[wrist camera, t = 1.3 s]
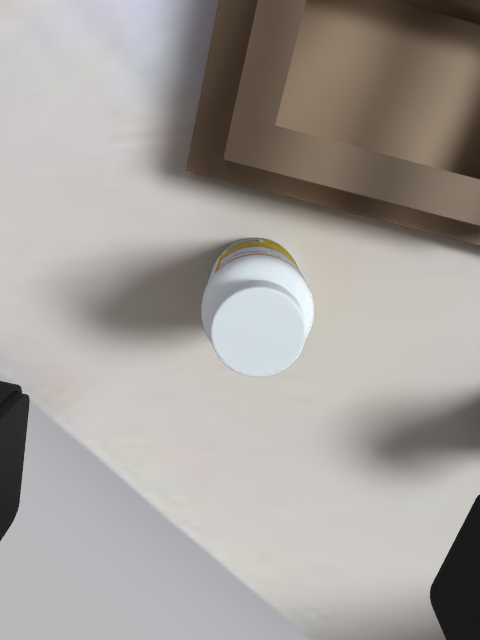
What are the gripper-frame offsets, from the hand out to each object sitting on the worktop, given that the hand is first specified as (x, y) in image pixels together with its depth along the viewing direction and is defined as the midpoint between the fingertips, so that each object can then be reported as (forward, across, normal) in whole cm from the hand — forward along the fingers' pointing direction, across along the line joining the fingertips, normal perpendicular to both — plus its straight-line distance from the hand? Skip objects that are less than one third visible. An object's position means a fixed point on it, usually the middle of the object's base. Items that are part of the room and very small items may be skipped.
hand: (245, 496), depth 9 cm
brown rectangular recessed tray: (+19, -5, -12) cm, 23 cm away
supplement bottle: (+20, -1, 0) cm, 20 cm away
